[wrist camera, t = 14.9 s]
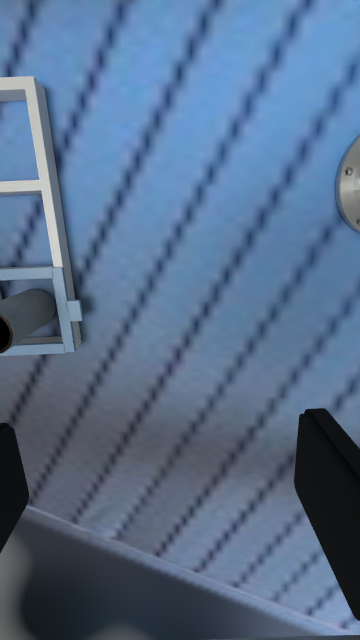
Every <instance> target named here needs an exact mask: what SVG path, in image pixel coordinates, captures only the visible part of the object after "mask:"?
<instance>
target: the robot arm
mask: <svg viewBox="0 0 360 640" xmlns="http://www.w3.org/2000/svg"><path fill="white" fill-rule="evenodd" d="M345 171H346V175H345ZM335 194H336V201H337V205H338V208H339V211H340V213H341V215H342V217H343V218H344V220H345V222H346V223H347V224H348V225H349V226H350V227H351V228H352V229H354V230H355V231H357V232H358V233H360V135H359V136H358V137H357V138H356V139H355V140H354V141H353V143H352V144H351V145H350V146H349V148H348V150H347V151H346V153H345V155H344V156H343V158H342V161H341V163H340V166H339V169H338V173H337V177H336V188H335ZM356 220H357V223H356ZM294 484H295V489H296V492H297V495H298V497H299V499H300V501H301V503H302V505H303V508H304V510H305V512H306V514H307V516H308V518H309V521H310V523H311V525H312V527H313V529H314V531H315V534H316V536H317V538H318V540H319V542H320V544H321V546H322V549H323V551H324V553H325V555H326V557H327V559H328V562H329V564H330V566H331V568H332V570H333V572H334V575H335V577H336V579H337V581H338V583H339V585H340V587H341V590H342V592H343V594H344V596H345V598H346V600H347V603H348V605H349V607H350V609H351V611H352V613H353V615H354V617H355V618H356V619H357V620H358V621H360V449H359V448H358V446H357V445H356V444H355V443H354V442H353V441H352V439H351V438H350V437H349V436H348V435H347V433H346V432H345V431H344V430H343V429H342V428H341V426H340V425H339V424H338V423H337V422H336V421H335V419H334V418H333V417H332V416H331V415H330V413H329V412H328V411H327V410H326V409H324V408H320V409H306V410H305V412H304V414H300V416H299V426H298V438H297V451H296V463H295V476H294ZM28 499H29V490H28V486H27V482H26V478H25V473H24V469H23V465H22V461H21V456H20V452H19V448H18V443H17V439H16V435H15V431H14V429H13V428H12V427H10V426H9V425H8V424H7V423H0V553H1V551H2V549H3V547H4V546H5V544H6V542H7V540H8V538H9V536H10V535H11V533H12V531H13V529H14V527H15V525H16V524H17V522H18V520H19V518H20V516H21V515H22V513H23V511H24V509H25V507H26V505H27V503H28ZM214 640H360V635H339V636H292V637H268V638H240V639H214Z"/></svg>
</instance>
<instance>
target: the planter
mask: <svg viewBox="0 0 360 640" xmlns="http://www.w3.org/2000/svg"><path fill="white" fill-rule="evenodd" d="M54 314H55V303H54V301H53V299H52V297H51V296H50V295H49V294H48V293H46V292H45V291H42V290H39V289H31V290H27V291H24V292H22V293H19V294H17V295H14V296H11V297H9V298H6V299H4V300H1V301H0V354H2V353H4V352H6V351H7V350H9V349H10V348H12V347H13V346H14V345H16V344H17V343H19V342H20V341H22V340H23V339H24V338H26V337H27V336H29V335H30V334H32V333H33V332H35V331H36V330H37V329H39V328H40V327H42V326H43V325H45V324H46V323H47V322H49V321H50V320H51V319H52V318H53V316H54Z"/></svg>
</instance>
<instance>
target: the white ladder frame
mask: <svg viewBox="0 0 360 640" xmlns="http://www.w3.org/2000/svg"><path fill="white" fill-rule="evenodd" d="M6 101H27V105H28V111H29V117H30V123H31V129H32V135H33V142H34V148H35V154H36V160H37V166H38V173H39V179H40V180H26V181H4V182H0V196H3V195H25V194H42V197H43V204H44V210H45V216H46V222H47V228H48V234H49V241H50V247H51V253H52V259H53V266H31V267H9V268H0V280H20V279H42V278H52V279H53V285H54V291H55V297H56V303H57V309H58V315H59V321H60V327H61V333H62V336H55V337H33V338H24V339H23V340H22V341H20V342H19V343H17V344H16V345H14V346H13V347H12V348H10V349H9V350H7V351H6V352H4V353H2V354H0V356H10V355H32V354H54V353H66V352H75V351H76V349H77V348H78V346H79V345H80V344H81V343H82V341H81V335H80V328H79V321H82V320H83V312H82V305H81V300H75V293H74V287H73V280H72V273H71V266H70V259H69V252H68V245H67V239H66V232H65V225H64V218H63V211H62V204H61V197H60V191H59V184H58V177H57V170H56V163H55V156H54V149H53V143H52V136H51V129H50V122H49V115H48V108H47V101H46V94H45V88H44V87H43V86H42V85H41V84H40V83H39V82H38V81H37V79H36V78H35V77H34V76H27V77H5V78H0V102H6ZM1 300H2V296H1V291H0V301H1Z"/></svg>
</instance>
